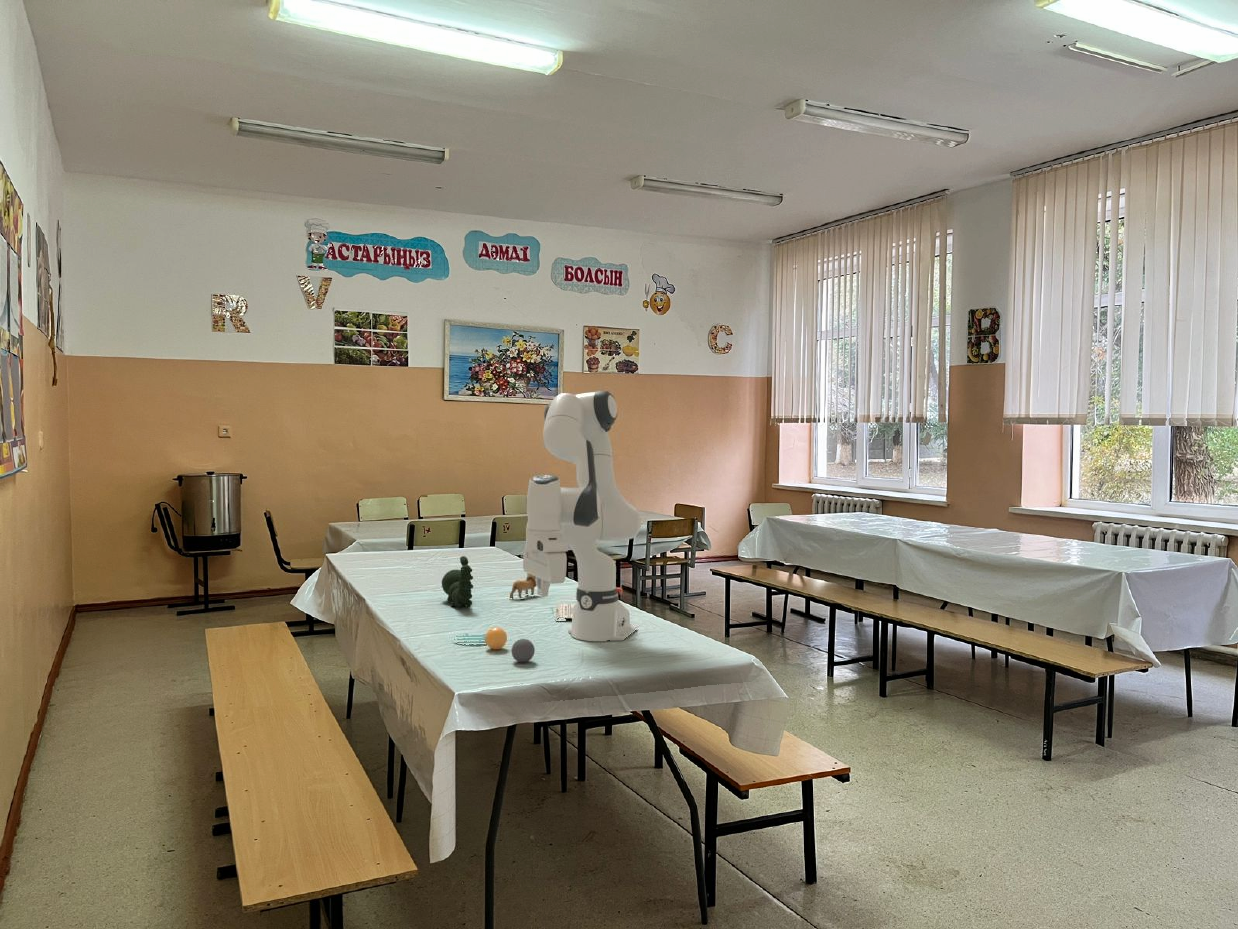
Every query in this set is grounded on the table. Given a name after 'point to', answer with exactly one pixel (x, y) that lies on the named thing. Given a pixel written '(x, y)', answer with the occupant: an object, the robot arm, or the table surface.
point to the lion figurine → (524, 585)
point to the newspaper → (564, 611)
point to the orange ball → (496, 638)
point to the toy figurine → (459, 585)
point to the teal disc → (473, 639)
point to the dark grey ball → (523, 650)
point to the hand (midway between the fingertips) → (542, 595)
